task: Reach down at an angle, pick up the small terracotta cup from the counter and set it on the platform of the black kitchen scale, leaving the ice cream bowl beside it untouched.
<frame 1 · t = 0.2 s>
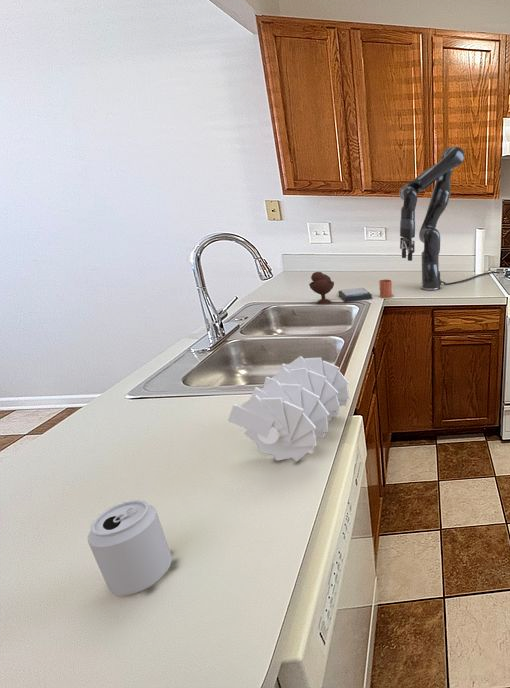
hand: (406, 259, 207), 17 cm above the table, tool pointing down, fingers open, 8 cm apart
can: (143, 576, 60), on the table
ice cream bowl: (323, 302, 190), on the table
cup: (386, 296, 203), on the table
spiral staircase: (303, 436, 93), on the table
scale: (355, 297, 200), on the table
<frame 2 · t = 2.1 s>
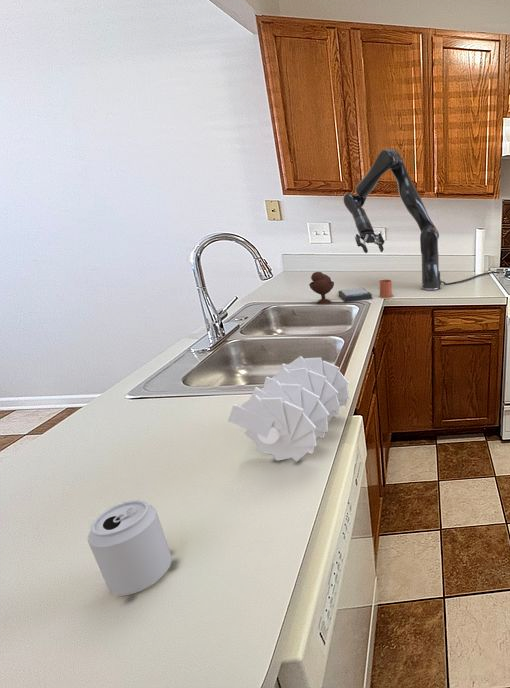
hand: (374, 251, 204), 21 cm above the table, tool tilted 45°, fingers open, 8 cm apart
nothing on the table moved.
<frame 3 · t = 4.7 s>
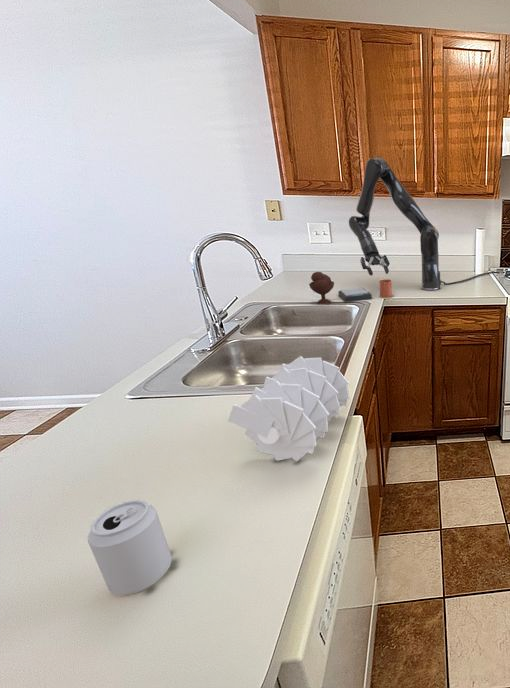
hand: (379, 273, 204), 10 cm above the table, tool tilted 45°, fingers open, 8 cm apart
nothing on the table moved.
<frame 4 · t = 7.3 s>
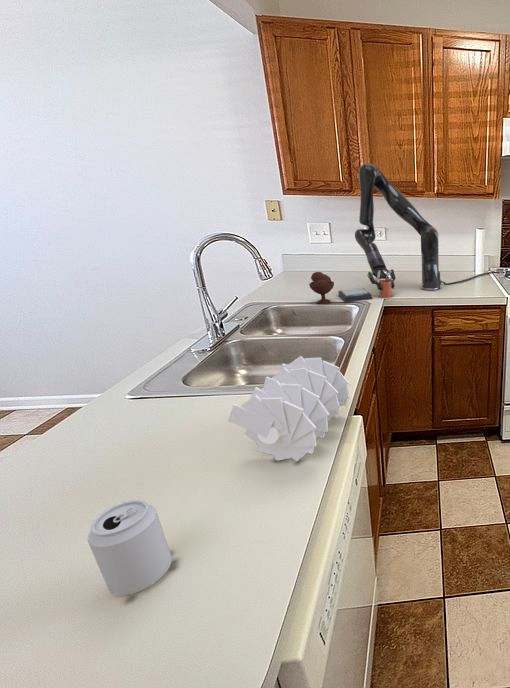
hand: (387, 288, 200), 4 cm above the table, tool tilted 45°, fingers closed on cup, 6 cm apart
cup: (386, 296, 203), on the table, touching gripper
everything else where it was.
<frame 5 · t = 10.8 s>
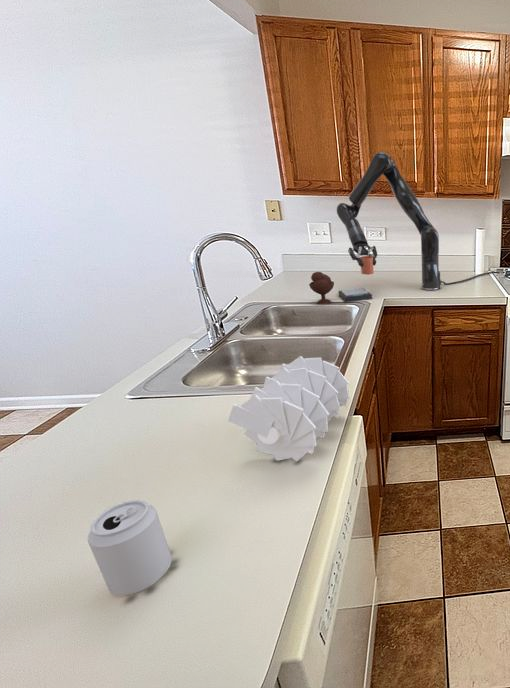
hand: (368, 265, 195), 16 cm above the table, tool tilted 45°, fingers closed on cup, 6 cm apart
cup: (367, 273, 198), point 12 cm above the table, touching gripper
everything else where it was.
when the fingers open (7 cm above the table, at t = 14.8 s): cup stays where it is, resting on scale.
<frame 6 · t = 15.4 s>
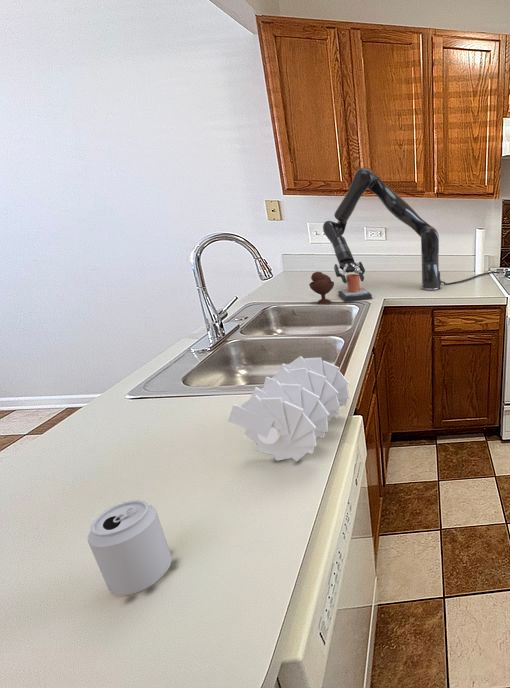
hand: (354, 281, 197), 8 cm above the table, tool tilted 45°, fingers open, 8 cm apart
cup: (353, 291, 199), point 3 cm above the table, touching scale
everything else where it was.
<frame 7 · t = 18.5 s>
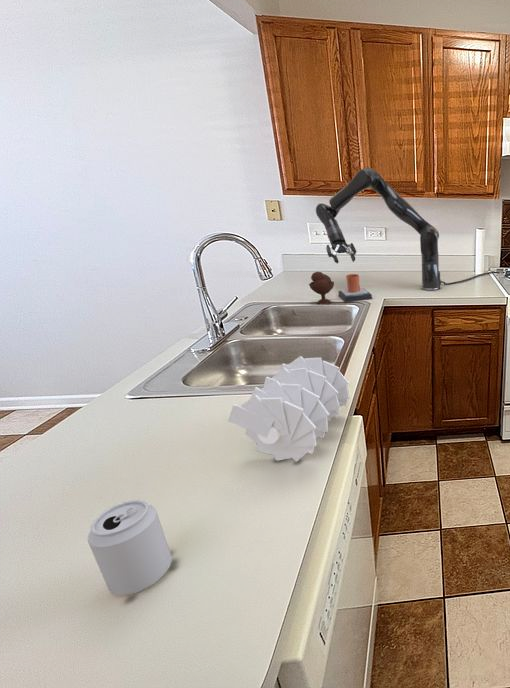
hand: (345, 261, 204), 16 cm above the table, tool tilted 45°, fingers open, 8 cm apart
nothing on the table moved.
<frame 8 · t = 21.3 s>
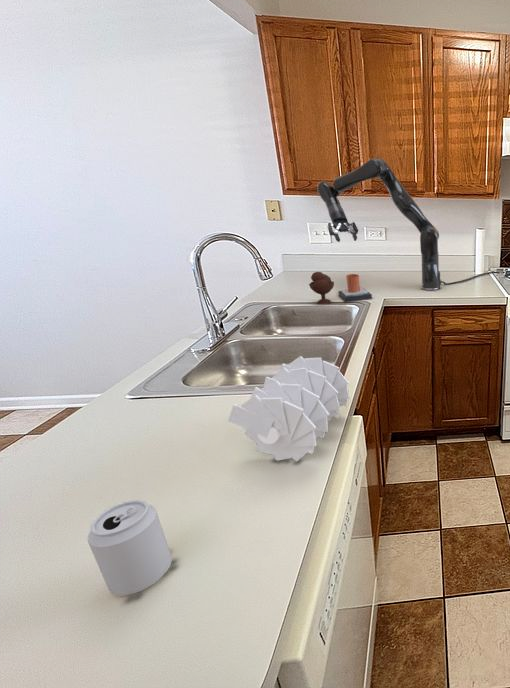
hand: (347, 240, 200), 27 cm above the table, tool tilted 45°, fingers open, 8 cm apart
nothing on the table moved.
at the end: cup inside the target area on the scale (0.1 cm from its centre), point 3.0 cm above the scale's base; cup tilted 0°; the gripper is holding nothing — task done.
